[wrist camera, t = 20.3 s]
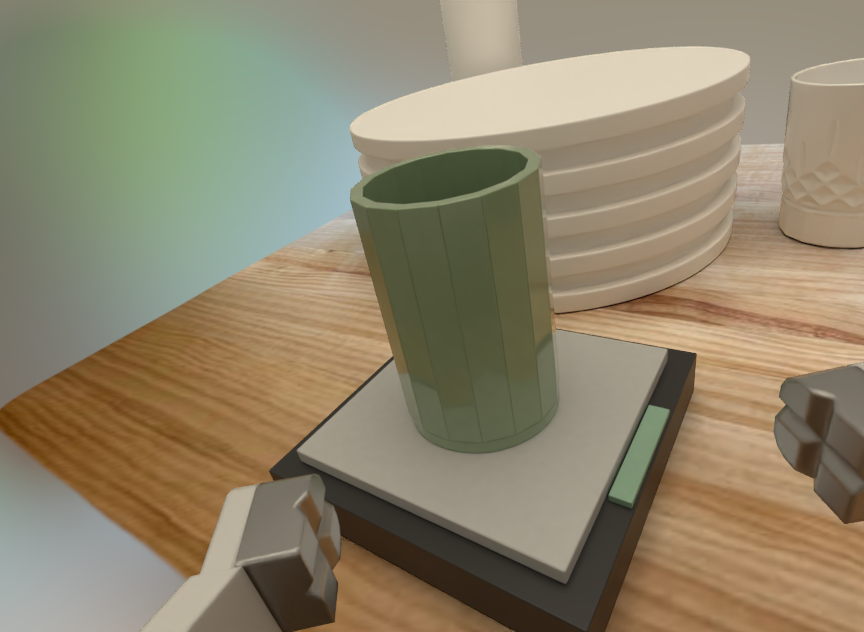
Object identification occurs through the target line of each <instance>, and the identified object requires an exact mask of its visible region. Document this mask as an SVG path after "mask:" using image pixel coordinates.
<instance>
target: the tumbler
mask: <svg viewBox="0 0 864 632" xmlns="http://www.w3.org/2000/svg"><path fill="white" fill-rule="evenodd" d="M350 201H351V205H352V209H353V212H354V216H355V219H356V223H357V227H358V230H359V234H360V237H361V241H362V245H363V248H364V252H365V256H366V259H367V263H368V266H369V270H370V274H371V277H372V281H373V285H374V288H375V292H376V295H377V299H378V303H379V306H380V310H381V314H382V317H383V321H384V324H385V328H386V332H387V335H388V339H389V343H390V346H391V350H392V353H393V357H394V361H395V364H396V368H397V372H398V375H399V379H400V382H401V386H402V390H403V393H404V397H405V401H406V404H407V408H408V411H409V414H410V415H411V419H412V421H413V423H414V426H415V427H416V429H417V430H418V431H419V433H421V434H422V435H423V436H424V437H425V438H426V439H427V440H429V441H430V442H432V443H434V444H436V445H438V446H440V447H442V448H445V449H448V450H452V451H457V452H464V453H487V452H494V451H500V450H504V449H507V448H511V447H513V446H516V445H518V444H521V443H523V442H525V441H527V440H529V439H531V438H532V437H534V436H535V435H536V434H538V433H539V432H540V431H541V430H543V429H544V428H545V427H546V426H547V425H548V423H549V422H550V421H551V420H552V418H553V416H554V415H555V413H556V411H557V408H558V405H559V400H560V392H559V381H560V378H559V365H558V353H557V341H556V328H555V316H554V304H553V291H552V279H551V266H550V254H549V242H548V229H547V217H546V205H545V192H544V180H543V167H542V158H541V156H540V155H538V154H537V153H535V152H534V151H533V150H531V149H528V148H522V147H516V146H509V145H489V146H473V147H465V148H457V149H449V150H444V151H440V152H435V153H431V154H426V155H422V156H417V157H414V158H411V159H408V160H405V161H402V162H399V163H396V164H393V165H389V166H388V167H385V168H383V169H381V170H379V171H376V172H374V173H372V174H370V175H368V176H366V177H364V178H363V179H362V180H361V181H360V182H359V183H357V184H356V185H355V186H354V187H353V188H352V189H351V196H350Z"/></svg>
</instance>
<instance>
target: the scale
mask: <svg viewBox="0 0 864 632" xmlns="http://www.w3.org/2000/svg"><path fill="white" fill-rule="evenodd" d="M556 341H557V353H558V365H559V378H560V381H559V392H560V400H559V405H558V408H557V411H556V413H555V415H554V416H553V418H552V420H551V421H550V422H549V423H548V425H547V426H546V427H545V428H544V429H543V430H541V431H540V432H539V433H538V434H536V435H535V436H534V437H532V438H531V439H529V440H527V441H525V442H523V443H521V444H518V445H516V446H513V447H511V448H507V449H504V450H500V451H494V452H487V453H464V452H457V451H452V450H448V449H445V448H442V447H440V446H438V445H436V444H434V443H432V442H430V441H429V440H427V439H426V438H425V437H424V436H423V435H422V434H421V433H419V431H418V430H417V429H416V427H415V426H414V423H413V421H412V419H411V415H410V414H409V411H408V408H407V404H406V401H405V397H404V393H403V390H402V386H401V382H400V379H399V375H398V372H397V368H396V364H395V361H394V357H393V356H392V357H391V358H390V359H389V360H388V361H387V362H386V363H385V364H384V365H383V366H382V367H381V368H379V369H378V370H377V371H376V372H375V373H374V374H373V375H372V376H371V377H370V378H369V379H368V380H367V381H365V382H364V383H363V384H362V385H361V386H360V387H359V388H358V389H357V390H356V391H355V392H354V393H352V394H351V395H350V396H349V397H348V398H347V399H346V400H345V401H344V402H343V403H342V404H341V405H340V406H338V407H337V408H336V409H335V410H334V411H333V412H332V413H331V414H330V415H329V416H328V417H327V418H325V419H324V420H323V421H322V422H321V423H320V424H319V425H318V426H317V427H316V428H315V429H314V430H313V431H311V432H310V433H309V434H308V435H307V436H306V437H305V438H304V439H303V440H302V441H301V442H300V443H298V444H297V445H296V446H295V447H294V448H293V449H292V450H291V451H290V452H289V453H288V454H287V455H285V456H284V457H283V458H282V459H281V460H280V461H279V462H278V463H277V464H276V465H275V466H274V467H273V468H271V469H270V470H269V472H270V474H271V476H272V478H273V480H274V481H276V480H281V479H287V478H293V477H298V476H304V475H310V474H318V475H320V477H321V479H322V481H323V484H324V486H325V496H324V500H325V501H327V502H329V503H331V504H332V505H333V506H334V509H335V511H336V513H337V517H338V521H339V525H340V534H341V535H342V536H344V537H346V538H347V539H349V540H351V541H353V542H355V543H356V544H358V545H360V546H362V547H364V548H366V549H367V550H369V551H371V552H373V553H375V554H376V555H378V556H380V557H382V558H384V559H386V560H387V561H389V562H391V563H393V564H395V565H396V566H398V567H400V568H402V569H404V570H405V571H407V572H409V573H411V574H413V575H415V576H416V577H418V578H420V579H422V580H424V581H425V582H427V583H429V584H431V585H433V586H435V587H436V588H438V589H440V590H442V591H444V592H445V593H447V594H449V595H451V596H453V597H455V598H456V599H458V600H460V601H462V602H464V603H465V604H467V605H469V606H471V607H473V608H474V609H476V610H478V611H480V612H482V613H484V614H485V615H487V616H489V617H491V618H493V619H494V620H496V621H498V622H500V623H502V624H504V625H505V626H507V627H509V628H511V629H513V630H514V631H516V632H605V629H606V627H607V624H608V621H609V618H610V616H611V613H612V610H613V608H614V605H615V602H616V599H617V597H618V594H619V591H620V589H621V586H622V583H623V580H624V578H625V575H626V572H627V570H628V567H629V564H630V561H631V559H632V556H633V553H634V551H635V548H636V545H637V542H638V540H639V537H640V534H641V532H642V529H643V526H644V523H645V521H646V518H647V515H648V513H649V510H650V507H651V504H652V502H653V499H654V496H655V494H656V491H657V488H658V485H659V483H660V480H661V477H662V475H663V472H664V469H665V466H666V464H667V461H668V458H669V456H670V453H671V450H672V447H673V445H674V442H675V439H676V437H677V434H678V431H679V428H680V426H681V423H682V420H683V418H684V415H685V412H686V409H687V407H688V404H689V401H690V399H691V396H692V393H693V390H694V379H695V367H696V353H691V352H686V351H680V350H674V349H669V348H663V347H657V346H652V345H646V344H640V343H635V342H629V341H623V340H618V339H612V338H606V337H601V336H595V335H589V334H584V333H578V332H572V331H567V330H561V329H556Z"/></svg>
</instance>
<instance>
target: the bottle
mask: <svg viewBox="0 0 864 632" xmlns="http://www.w3.org/2000/svg"><path fill="white" fill-rule="evenodd" d="M439 1H440V7H441V14H442V20H443V26H444V33H445V39H446V47H447V52H448V59H449V66H450V72H451V79H452V82H454V81H458V80H462V79H466V78H470V77H474V76H479V75H483V74H487V73H492V72H497V71H501V70H506V69H511V68H516V67H521V66H522V54H521V43H520V32H519V21H518V10H517V0H439Z"/></svg>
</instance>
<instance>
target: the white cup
mask: <svg viewBox="0 0 864 632" xmlns="http://www.w3.org/2000/svg"><path fill="white" fill-rule="evenodd" d="M781 182H782V192H783V194H782V197H781V206H780V215H779V227H780V228H781V229H782V231H783V232H784V234H785V235H787V236H789V237H792V238H794V239H796V240H799V241H801V242H804V243H810V244H815V245H821V246H826V247H841V248H845V247H847V248H859V247H864V58H860V59H852V60H845V61H839V62H833V63H828V64H823V65H818V66H815V67H811V68H808V69H804V70H802V71H799V72H797V73H795V74H794V75H792V77H791V82H790V93H789V104H788V114H787V123H786V133H785V142H784V152H783V170H782V179H781Z"/></svg>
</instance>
